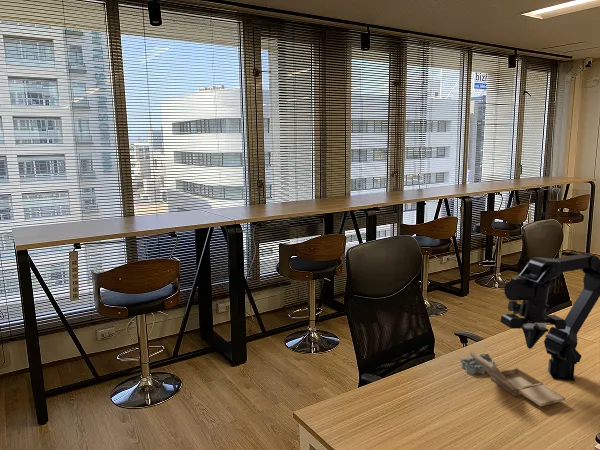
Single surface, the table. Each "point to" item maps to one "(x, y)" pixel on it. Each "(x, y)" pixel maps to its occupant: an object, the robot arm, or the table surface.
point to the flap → (492, 370)
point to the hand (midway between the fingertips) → (529, 348)
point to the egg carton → (475, 364)
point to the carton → (528, 387)
